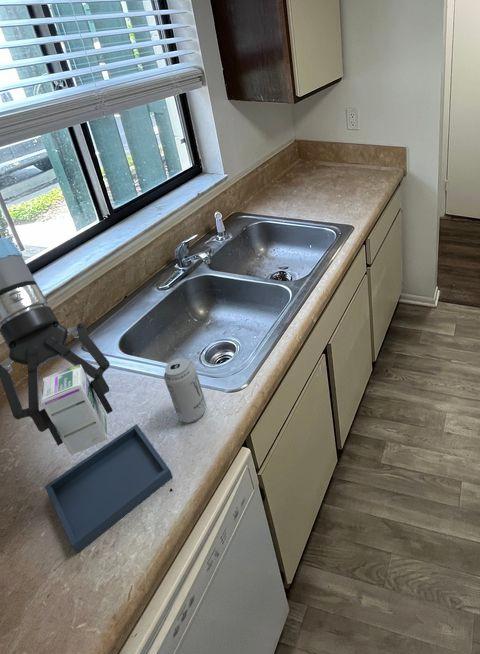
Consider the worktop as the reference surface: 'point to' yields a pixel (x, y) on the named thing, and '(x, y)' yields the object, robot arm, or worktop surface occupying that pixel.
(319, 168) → the worktop surface
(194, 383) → the energy drink can
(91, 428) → the syrup box
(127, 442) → the tray
